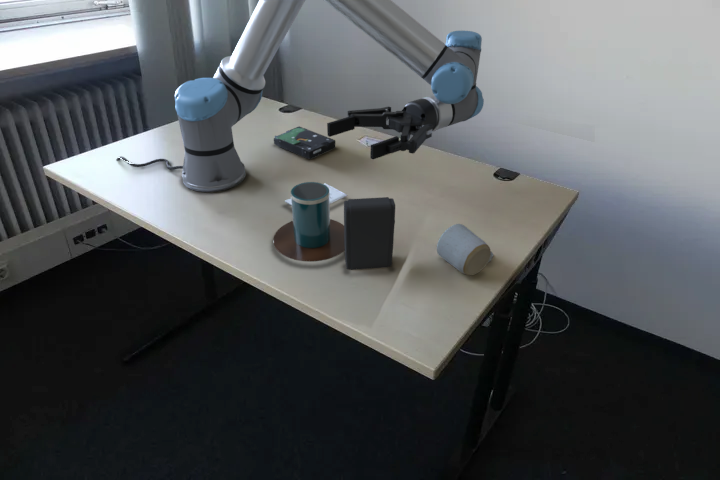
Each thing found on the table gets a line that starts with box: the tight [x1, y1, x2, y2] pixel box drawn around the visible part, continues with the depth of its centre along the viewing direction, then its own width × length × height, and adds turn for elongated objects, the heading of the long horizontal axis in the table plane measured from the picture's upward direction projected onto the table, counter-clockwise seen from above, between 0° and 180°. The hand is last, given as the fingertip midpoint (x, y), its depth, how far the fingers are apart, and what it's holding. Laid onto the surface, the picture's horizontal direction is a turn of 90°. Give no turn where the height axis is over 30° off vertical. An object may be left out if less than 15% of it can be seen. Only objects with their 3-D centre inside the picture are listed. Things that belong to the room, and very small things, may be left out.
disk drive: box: [273, 125, 336, 160], centre depth 145 cm, size 10×3×15 cm
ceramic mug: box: [436, 223, 494, 276], centre depth 100 cm, size 11×8×8 cm
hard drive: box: [283, 183, 348, 207], centre depth 120 cm, size 2×8×12 cm
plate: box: [272, 218, 345, 262], centre depth 107 cm, size 16×16×1 cm
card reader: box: [343, 196, 396, 271], centre depth 96 cm, size 9×4×15 cm, turn 97°
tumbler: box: [290, 181, 331, 248], centre depth 103 cm, size 8×8×11 cm
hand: (348, 140), depth 101 cm, fingers open, 13 cm apart
